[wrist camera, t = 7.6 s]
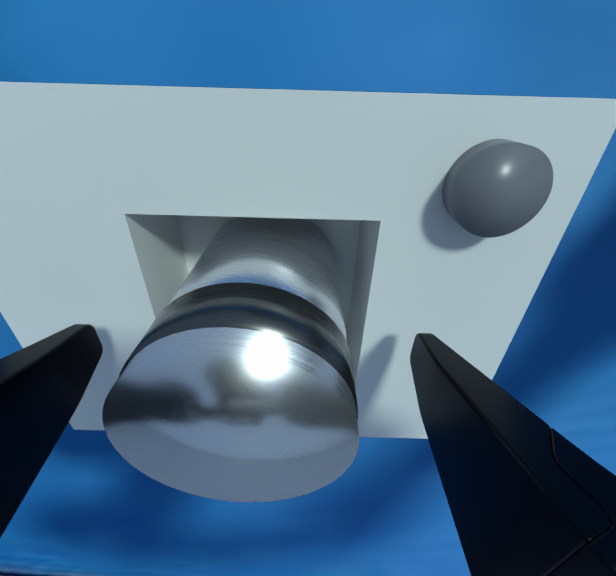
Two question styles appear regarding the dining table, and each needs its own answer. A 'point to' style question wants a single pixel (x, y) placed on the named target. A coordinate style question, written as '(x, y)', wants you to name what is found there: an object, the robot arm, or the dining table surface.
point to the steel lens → (244, 371)
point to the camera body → (290, 212)
